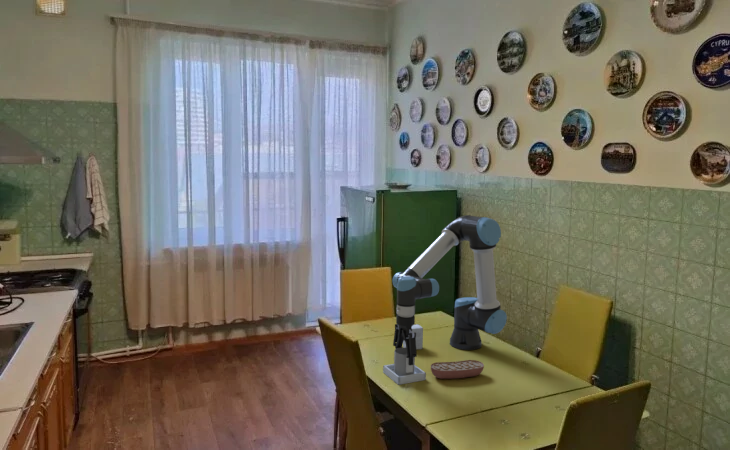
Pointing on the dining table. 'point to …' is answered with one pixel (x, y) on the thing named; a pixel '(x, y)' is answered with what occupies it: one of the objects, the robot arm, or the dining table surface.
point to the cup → (401, 362)
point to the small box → (417, 336)
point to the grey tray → (415, 377)
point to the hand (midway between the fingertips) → (404, 368)
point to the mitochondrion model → (457, 369)
